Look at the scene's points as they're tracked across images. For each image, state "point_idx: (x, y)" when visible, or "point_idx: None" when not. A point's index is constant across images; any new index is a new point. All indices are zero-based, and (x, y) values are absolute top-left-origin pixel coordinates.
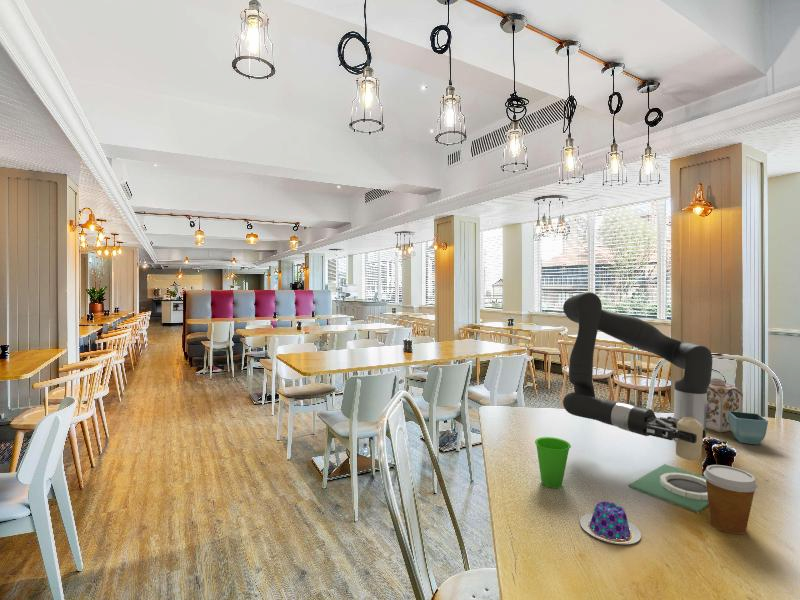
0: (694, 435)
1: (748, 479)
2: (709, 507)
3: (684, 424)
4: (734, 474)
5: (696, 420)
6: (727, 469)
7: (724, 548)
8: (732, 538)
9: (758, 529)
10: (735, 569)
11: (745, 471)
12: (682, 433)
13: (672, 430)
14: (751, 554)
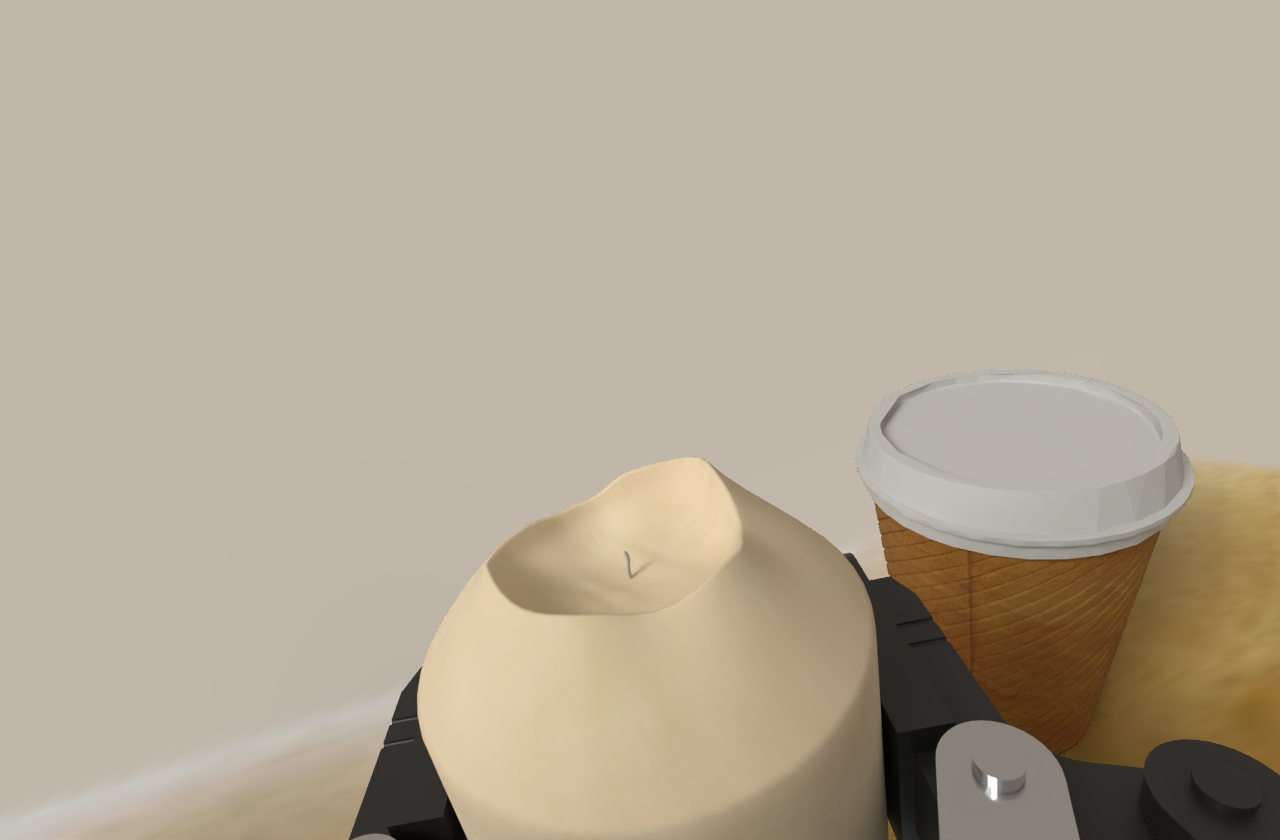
0: (851, 563)
1: (947, 395)
2: (1104, 672)
3: (849, 579)
4: (970, 428)
5: (530, 525)
6: (943, 463)
7: (1200, 603)
8: None
9: None
10: (1265, 530)
11: (869, 421)
12: (951, 685)
13: (1174, 759)
14: None
